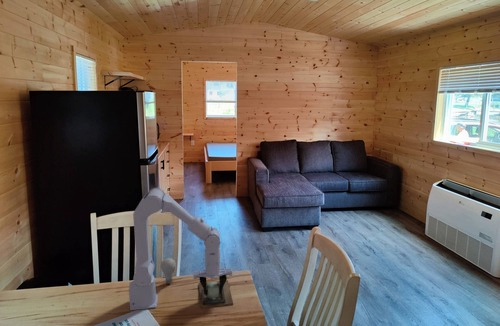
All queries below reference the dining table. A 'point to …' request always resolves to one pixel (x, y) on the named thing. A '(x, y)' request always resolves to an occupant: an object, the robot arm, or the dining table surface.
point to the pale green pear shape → (213, 291)
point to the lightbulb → (168, 269)
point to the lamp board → (227, 297)
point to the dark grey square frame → (213, 300)
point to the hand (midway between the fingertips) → (213, 293)
